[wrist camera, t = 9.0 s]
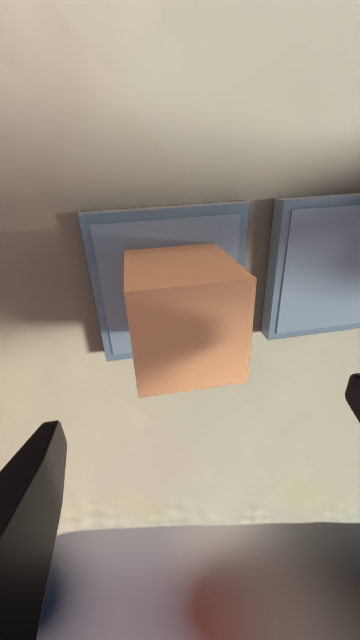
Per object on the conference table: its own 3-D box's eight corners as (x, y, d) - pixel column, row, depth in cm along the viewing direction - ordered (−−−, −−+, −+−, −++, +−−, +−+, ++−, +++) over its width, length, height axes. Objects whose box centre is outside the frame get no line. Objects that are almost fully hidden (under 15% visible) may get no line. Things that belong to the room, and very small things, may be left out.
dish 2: (410, 189, 18) (430, 190, 17) (372, 317, 22) (385, 325, 21) (274, 198, 17) (285, 200, 16) (260, 331, 21) (268, 340, 20)
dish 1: (241, 200, 17) (249, 203, 16) (234, 334, 21) (240, 344, 20) (80, 211, 16) (77, 214, 14) (107, 351, 20) (106, 362, 19)
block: (214, 242, 16) (256, 278, 11) (213, 321, 19) (247, 381, 13) (123, 250, 16) (123, 292, 10) (134, 331, 18) (138, 397, 13)
